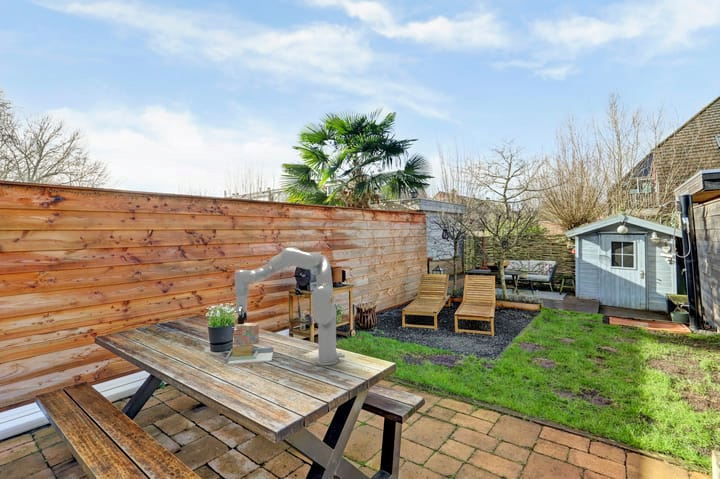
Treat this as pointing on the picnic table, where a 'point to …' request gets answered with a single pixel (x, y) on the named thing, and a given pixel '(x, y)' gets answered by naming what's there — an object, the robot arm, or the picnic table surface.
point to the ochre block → (243, 350)
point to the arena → (257, 356)
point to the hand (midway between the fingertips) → (242, 322)
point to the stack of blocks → (246, 333)
